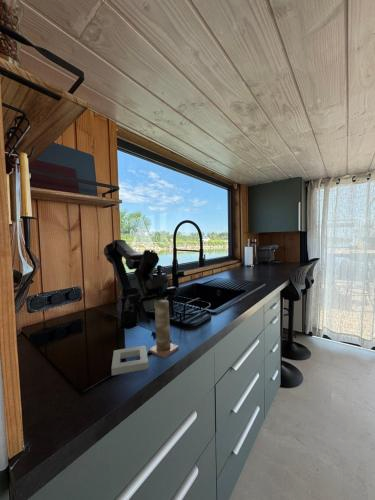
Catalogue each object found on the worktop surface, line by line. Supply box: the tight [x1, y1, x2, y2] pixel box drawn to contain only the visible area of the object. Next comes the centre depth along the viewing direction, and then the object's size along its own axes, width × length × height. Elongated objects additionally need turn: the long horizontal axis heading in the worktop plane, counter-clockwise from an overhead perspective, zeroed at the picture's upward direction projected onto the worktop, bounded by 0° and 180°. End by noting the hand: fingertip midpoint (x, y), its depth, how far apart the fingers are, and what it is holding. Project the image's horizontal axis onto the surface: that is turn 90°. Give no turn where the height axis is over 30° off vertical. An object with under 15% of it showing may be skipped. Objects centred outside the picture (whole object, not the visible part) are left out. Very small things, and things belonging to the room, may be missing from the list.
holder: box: [110, 345, 149, 376], centre depth 67 cm, size 10×10×2 cm
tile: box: [148, 342, 179, 359], centre depth 74 cm, size 7×7×1 cm
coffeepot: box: [134, 282, 165, 310], centre depth 113 cm, size 15×9×18 cm, turn 112°
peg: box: [154, 299, 171, 351], centre depth 73 cm, size 5×5×16 cm
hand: (161, 319), depth 74 cm, fingers open, 9 cm apart
